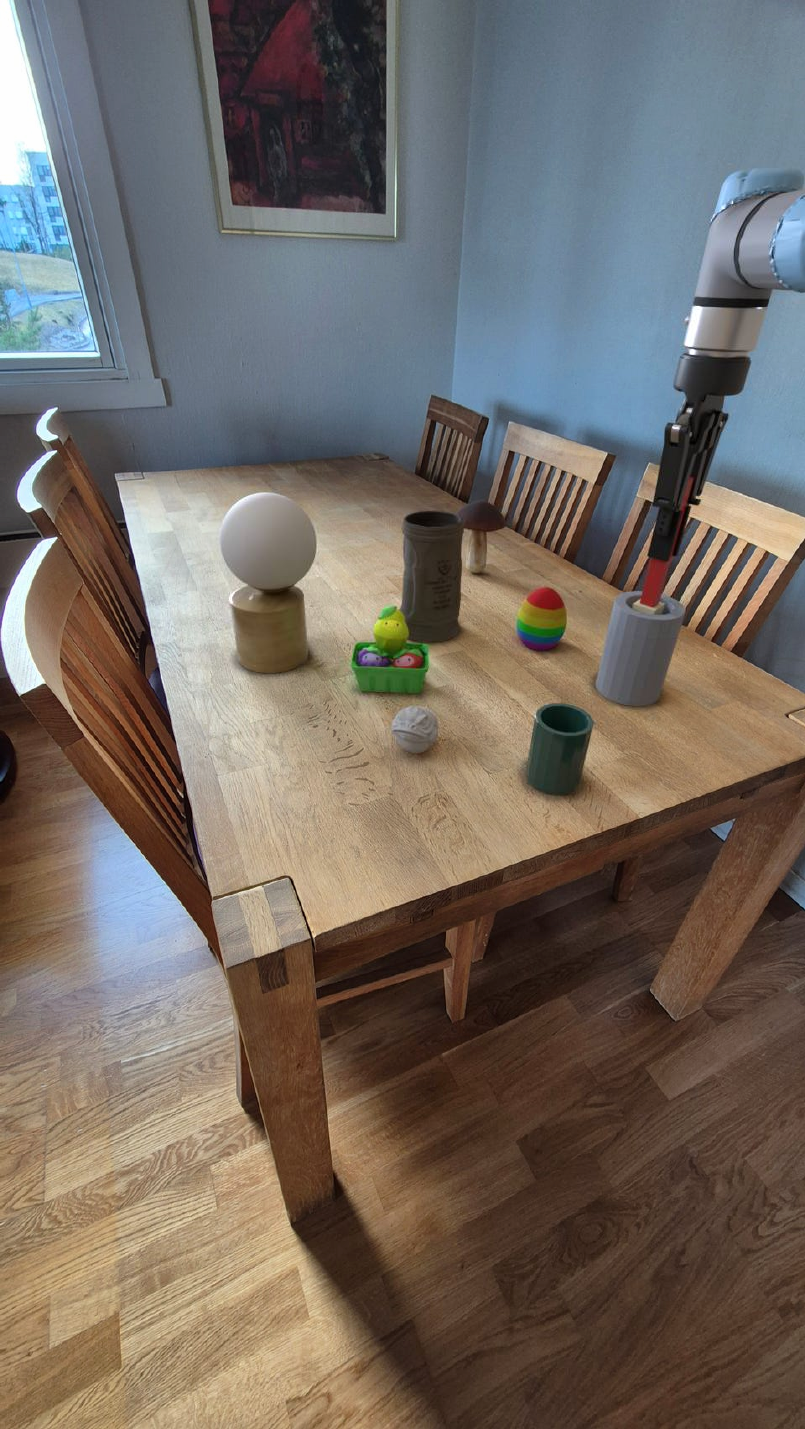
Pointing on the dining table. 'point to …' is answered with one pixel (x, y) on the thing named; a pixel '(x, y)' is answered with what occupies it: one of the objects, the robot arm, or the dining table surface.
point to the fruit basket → (390, 657)
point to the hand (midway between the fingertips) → (662, 555)
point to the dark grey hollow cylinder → (432, 574)
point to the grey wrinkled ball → (415, 728)
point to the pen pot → (558, 748)
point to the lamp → (268, 579)
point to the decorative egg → (542, 619)
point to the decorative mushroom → (479, 531)
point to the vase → (638, 650)
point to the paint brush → (658, 574)
